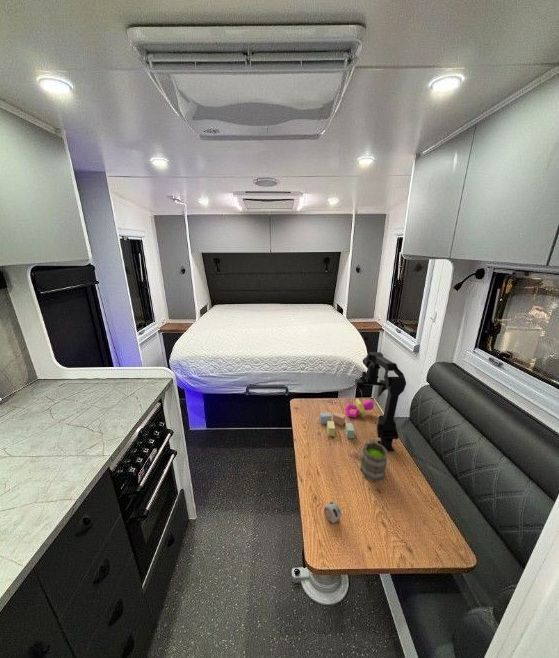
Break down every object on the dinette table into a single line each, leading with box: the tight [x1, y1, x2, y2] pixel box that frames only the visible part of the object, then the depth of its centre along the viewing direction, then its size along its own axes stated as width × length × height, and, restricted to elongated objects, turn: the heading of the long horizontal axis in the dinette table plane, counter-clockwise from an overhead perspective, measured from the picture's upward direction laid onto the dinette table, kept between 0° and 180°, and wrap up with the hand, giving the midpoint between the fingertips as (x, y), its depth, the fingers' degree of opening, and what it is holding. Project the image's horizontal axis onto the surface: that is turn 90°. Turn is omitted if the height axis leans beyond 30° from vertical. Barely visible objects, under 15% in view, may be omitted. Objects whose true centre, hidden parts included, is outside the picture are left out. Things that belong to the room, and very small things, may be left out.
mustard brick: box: [326, 420, 336, 437], centre depth 142 cm, size 6×4×5 cm, turn 177°
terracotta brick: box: [332, 411, 346, 426], centre depth 150 cm, size 6×4×5 cm, turn 57°
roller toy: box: [323, 501, 342, 524], centre depth 97 cm, size 4×6×6 cm
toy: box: [344, 397, 375, 418], centre depth 157 cm, size 10×18×10 cm, turn 96°
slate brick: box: [319, 411, 333, 425], centre depth 151 cm, size 6×4×5 cm, turn 97°
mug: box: [359, 437, 390, 482], centre depth 118 cm, size 16×11×12 cm
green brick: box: [344, 422, 355, 439], centre depth 141 cm, size 6×4×5 cm, turn 177°
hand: (370, 396), depth 153 cm, fingers open, 9 cm apart
